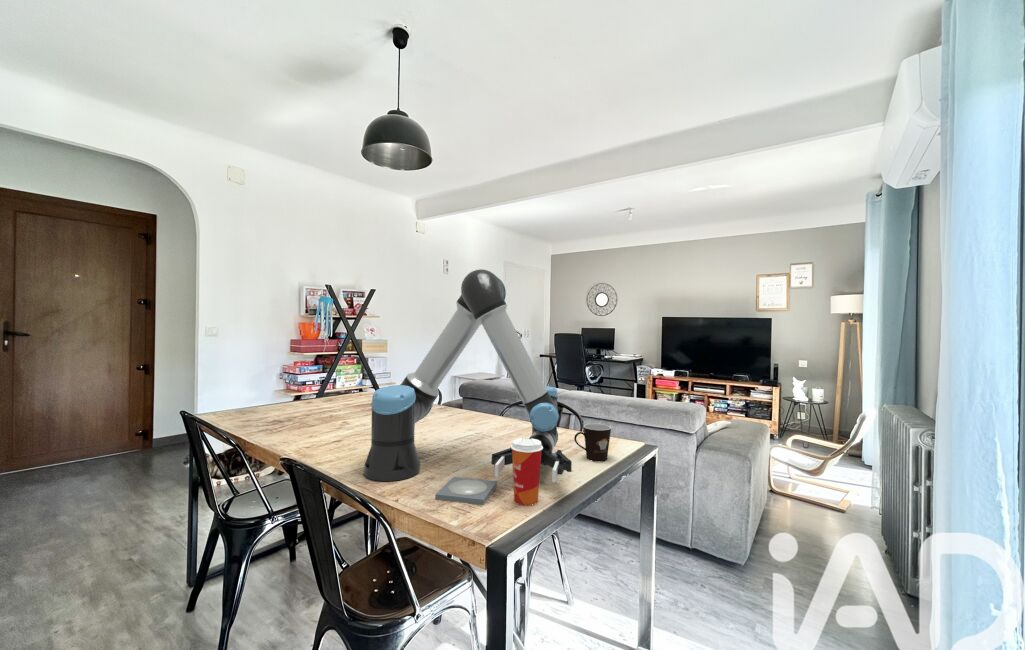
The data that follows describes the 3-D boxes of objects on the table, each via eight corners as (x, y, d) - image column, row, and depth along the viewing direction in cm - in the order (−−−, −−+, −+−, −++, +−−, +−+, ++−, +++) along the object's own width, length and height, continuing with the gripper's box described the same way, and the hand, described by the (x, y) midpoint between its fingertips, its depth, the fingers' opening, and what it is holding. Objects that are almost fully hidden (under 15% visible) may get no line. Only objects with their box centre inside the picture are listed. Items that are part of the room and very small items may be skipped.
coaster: (435, 499, 99) (435, 493, 99) (453, 481, 110) (453, 476, 110) (483, 505, 96) (483, 499, 96) (497, 485, 108) (497, 480, 108)
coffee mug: (608, 454, 136) (609, 424, 136) (612, 463, 127) (612, 430, 127) (572, 453, 137) (573, 422, 137) (574, 461, 128) (574, 429, 128)
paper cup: (510, 493, 103) (511, 437, 103) (541, 494, 103) (542, 437, 103) (509, 507, 95) (510, 446, 95) (542, 508, 95) (543, 447, 95)
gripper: (583, 464, 114) (578, 495, 93) (496, 457, 120) (473, 484, 99) (584, 437, 114) (579, 461, 93) (496, 430, 120) (473, 452, 99)
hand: (524, 473), depth 96 cm, fingers open, 13 cm apart
